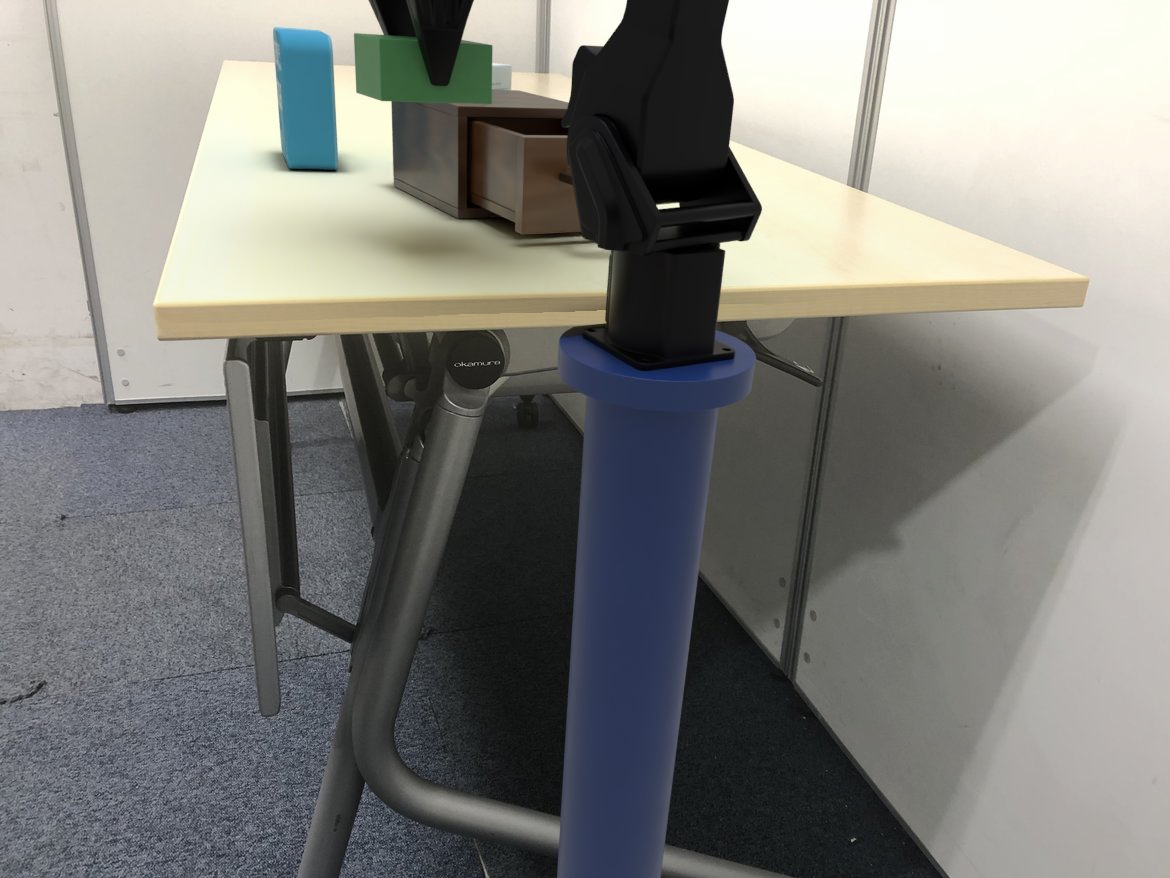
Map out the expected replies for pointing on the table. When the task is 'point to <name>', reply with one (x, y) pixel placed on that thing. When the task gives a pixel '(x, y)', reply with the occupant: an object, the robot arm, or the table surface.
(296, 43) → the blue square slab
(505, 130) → the drawer
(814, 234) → the table surface
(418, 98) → the green block
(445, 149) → the cabinet
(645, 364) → the robot arm
